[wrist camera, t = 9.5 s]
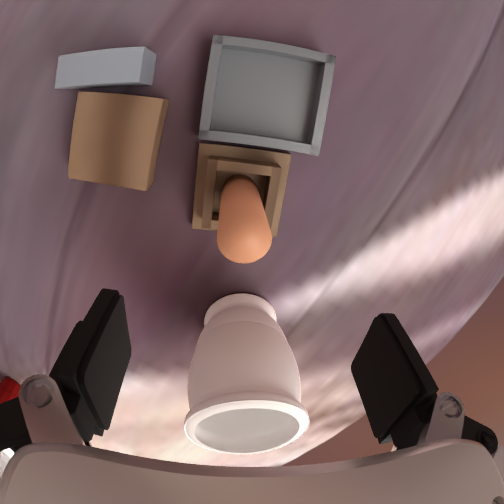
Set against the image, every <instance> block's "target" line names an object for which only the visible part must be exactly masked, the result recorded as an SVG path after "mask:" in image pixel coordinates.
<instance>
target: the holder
mask: <svg viewBox="0 0 504 504" xmlns="http://www.w3.org/2000/svg"><path fill="white" fill-rule="evenodd" d="M290 160H291V154H290V153H286V152H280V151H273V150H266V149H259V148H252V147H244V146H236V145H227V144H217V143H207V142H200V143H199V153H198V162H197V172H196V183H195V195H194V207H193V221H192V228H193V229H203V230H213V231H218V221H219V211H220V202H221V193H222V187H223V185H224V183H225V181H226V180H227V179H228V178H230V177H232V176H234V175H246V176H248V177H250V178H251V179H253V181H254V182H255V183H256V185H257V188H258V191H259V195H260V198H261V201H262V204H263V207H264V210H265V214H266V217H267V220H268V223H269V227H270V230H271V234H272V237H276V234H277V229H278V224H279V219H280V214H281V208H282V203H283V198H284V192H285V187H286V182H287V176H288V171H289V165H290Z"/></svg>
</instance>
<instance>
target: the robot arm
mask: <svg viewBox="0 0 504 504" xmlns="http://www.w3.org/2000/svg"><path fill="white" fill-rule="evenodd" d="M130 357H131V344H130V338H129V332H128V326H127V319H126V312H125V304H124V297H123V296H122V295H119V292H118V291H117V290H111V289H105V288H103V289H102V290H101V291H100V293H99V295H98V296H97V298H96V300H95V301H94V303H93V305H92V306H91V308H90V310H89V311H88V313H87V315H86V317H85V318H84V320H83V321H79V322H78V323H77V324H76V326H75V327H74V329H73V331H72V333H71V334H70V336H69V338H68V340H67V342H66V344H65V345H64V347H63V349H62V351H61V353H60V355H59V357H58V359H57V360H56V362H55V364H54V366H53V368H52V370H51V372H50V374H49V376H47V375H43V374H37V375H32V376H30V377H28V378H27V379H26V380H24V381H23V383H22V384H21V386H20V389H19V392H18V393H19V396H18V397H16V398H13V399H11V400H8V401H6V402H3V403H1V404H0V504H504V448H503V447H502V446H501V445H499V446H498V441H497V437H496V435H495V433H494V432H493V431H492V430H491V429H490V428H488V427H486V426H484V425H482V424H480V423H478V422H476V421H474V420H472V419H470V418H469V417H467V416H465V407H464V404H463V403H462V401H461V400H460V399H459V398H458V397H457V396H456V395H454V394H452V393H449V392H444V393H441V394H440V395H438V396H437V394H436V392H437V391H438V387H437V385H436V383H435V381H434V380H433V378H432V376H431V374H430V372H429V370H428V369H427V367H426V365H425V363H424V362H423V360H422V358H421V357H420V355H419V353H418V351H417V350H416V348H415V346H414V345H413V343H412V341H411V340H410V338H409V336H408V335H407V333H406V332H405V330H404V328H403V327H402V325H401V324H400V322H399V320H398V319H397V317H396V316H395V315H394V314H392V313H381V314H379V315H378V316H377V317H375V318H374V320H373V322H372V324H371V326H370V328H369V330H368V333H367V335H366V337H365V339H364V341H363V343H362V345H361V347H360V349H359V351H358V352H357V354H356V356H355V358H354V360H353V362H352V365H351V371H352V374H353V377H354V380H355V383H356V385H357V388H358V391H359V394H360V396H361V399H362V402H363V405H364V408H365V411H366V414H367V416H368V420H369V422H370V425H371V428H372V431H373V434H374V436H375V437H376V438H378V441H379V444H383V443H388V442H391V441H392V440H393V443H394V446H393V448H392V451H391V452H387V453H382V454H378V455H373V456H368V457H362V458H357V459H351V460H345V461H337V462H329V463H321V464H311V465H300V466H285V467H284V466H283V467H225V466H208V465H196V464H186V463H178V462H170V461H163V460H157V459H150V458H144V457H139V456H133V455H128V454H123V453H119V452H114V451H109V450H104V449H99V448H95V447H92V445H91V443H90V440H92V437H93V434H95V435H99V436H103V432H104V429H105V430H108V429H109V427H110V423H111V420H112V416H113V413H114V409H115V406H116V402H117V399H118V395H119V392H120V389H121V385H122V382H123V379H124V376H125V372H126V369H127V366H128V363H129V360H130ZM497 446H498V447H497Z"/></svg>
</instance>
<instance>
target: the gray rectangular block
mask: <svg viewBox="0 0 504 504" xmlns="http://www.w3.org/2000/svg"><path fill="white" fill-rule="evenodd" d="M156 57H157V54H155V53H154V52H152V51H151V50H149V49H148V48H146V47H145V46H143V47H125V48H112V49H102V50H94V51H86V52H79V53H73V54H67V55H62V56H59V58H58V65H57V72H56V80H55V89H83V88H95V87H110V86H144V85H152V84H153V77H154V70H155V63H156Z"/></svg>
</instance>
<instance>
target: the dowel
mask: <svg viewBox="0 0 504 504" xmlns="http://www.w3.org/2000/svg"><path fill="white" fill-rule="evenodd" d="M271 242H272V234H271V230H270V227H269V223H268V220H267V217H266V214H265V210H264V207H263V204H262V201H261V198H260V195H259V191H258V188H257V185H256V183H255V182H254V181H253V179H251V178H250V177H248V176H246V175H234V176H232V177H230V178H228V179H227V180H226V181H225V183H224V185H223V187H222V193H221V202H220V211H219V221H218V231H217V244H218V247H219V250H220V251H221V253H222V254H223V255H224V256H225V257H226V258H228V259H229V260H231V261H234V262H237V263H251V262H254V261H256V260H258V259H260V258H262V257H263V256H264V255H265V254H266V253H267V251H268V250H269V248H270V246H271Z"/></svg>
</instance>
